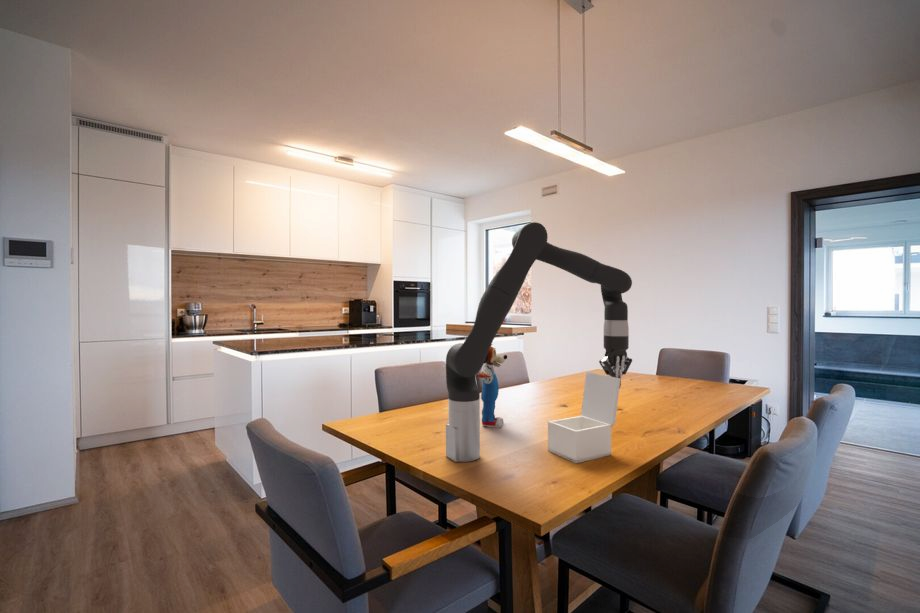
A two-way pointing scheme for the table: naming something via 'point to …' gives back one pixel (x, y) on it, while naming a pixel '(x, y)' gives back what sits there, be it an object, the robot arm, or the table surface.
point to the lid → (600, 397)
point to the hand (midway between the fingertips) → (615, 388)
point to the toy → (490, 388)
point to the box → (579, 438)
